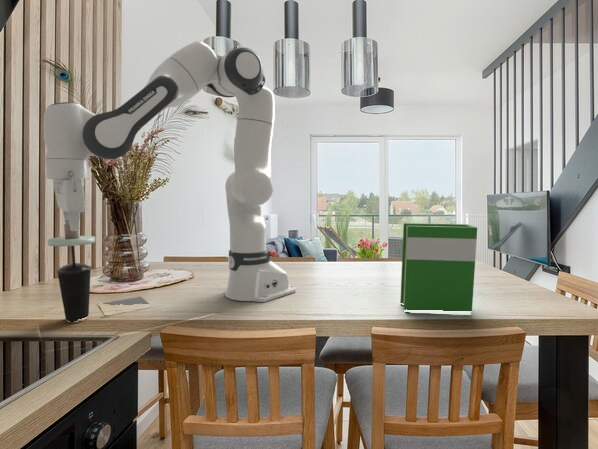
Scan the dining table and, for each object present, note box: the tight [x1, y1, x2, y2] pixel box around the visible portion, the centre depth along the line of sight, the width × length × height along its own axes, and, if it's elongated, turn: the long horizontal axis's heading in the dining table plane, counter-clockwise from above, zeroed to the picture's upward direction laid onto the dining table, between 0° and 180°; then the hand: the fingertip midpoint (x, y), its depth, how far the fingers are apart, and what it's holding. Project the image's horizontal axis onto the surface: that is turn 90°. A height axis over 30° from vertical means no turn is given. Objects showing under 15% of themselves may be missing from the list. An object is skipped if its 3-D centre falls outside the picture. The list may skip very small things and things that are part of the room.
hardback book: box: [399, 222, 478, 312], centre depth 104 cm, size 18×7×24 cm, turn 84°
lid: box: [47, 223, 96, 247], centre depth 93 cm, size 10×10×5 cm
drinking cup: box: [55, 246, 93, 322], centre depth 94 cm, size 8×8×20 cm
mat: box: [102, 296, 150, 305], centre depth 106 cm, size 12×12×1 cm
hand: (71, 228), depth 92 cm, fingers open, 8 cm apart
